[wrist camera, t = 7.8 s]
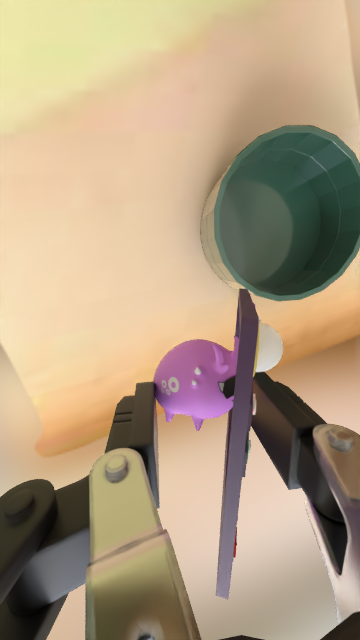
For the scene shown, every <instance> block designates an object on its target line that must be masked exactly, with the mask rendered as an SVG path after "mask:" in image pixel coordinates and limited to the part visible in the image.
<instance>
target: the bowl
mask: <svg viewBox="0 0 360 640" xmlns="http://www.w3.org/2000/svg"><path fill="white" fill-rule="evenodd" d="M201 242H202V247H203V251H204V254H205V256H206V259H207V261H208V263H209V265H210V266H211V268H212V269H213V271H214V272H215V273H216V274H217V276H218V277H219V278H220V279H221V280H223V281H224V282H225V283H227V284H228V285H230V286H231V287H233V288H235V289H236V290H239V288H241V289H248V292H249V294H253V295H256V296H260V297H264V298H267V299H271V300H275V301H288V300H300V299H303V298H306V297H308V296H310V295H313V294H315V293H318V292H320V291H322V290H324V289H325V288H326V287H328V286H329V285H330V284H331V283H333V282H334V281H335V280H336V279H338V278H339V277H340V276H341V275H342V274H343V273H344V272H345V270H346V269H347V267H348V266H349V265H350V263H351V262H352V261H353V259H354V258H355V257H356V255H357V253H358V251H359V248H360V163H359V161H358V159H357V157H356V155H355V153H354V152H353V151H352V150H351V149H350V148H349V147H348V146H347V145H346V144H345V143H344V142H343V141H342V140H340V139H339V138H338V137H337V136H336V135H334V134H332V133H329V132H327V131H324V130H322V129H320V128H317V127H315V126H311V125H303V126H283V127H281V128H278V129H276V130H273V131H271V132H268V133H266V134H263V135H260V136H259V137H258V138H256V139H255V140H254V141H253V142H252V143H251V144H249V145H248V146H247V147H246V148H245V149H244V150H243V151H241V152H240V153H239V154H238V155H237V156H236V158H235V159H234V160H233V162H232V163H231V164H230V165H229V167H228V168H227V169H226V171H225V172H224V173H223V175H222V176H221V177H220V179H219V180H218V182H217V183H216V185H215V187H214V188H213V189H212V191H211V193H210V195H209V196H208V198H207V200H206V204H205V206H204V210H203V213H202V219H201Z"/></svg>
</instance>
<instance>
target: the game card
mask: <svg viewBox="0 0 360 640" xmlns="http://www.w3.org/2000/svg"><path fill="white" fill-rule="evenodd" d="M260 321H261V320H260V319H259V317H258V315H257V312H256V310H255V305H254V303H253V302H252V299H251V297H250V294H249V292H248V289H241V288H239V298H238V310H237V321H236V333H235V336H234V339H235V344H234V351H229V350H227V349H226V348H224V347H222V346H221V345H219V344H216V343H214V342H211V341H207V340H200V339H197V340H190V341H186V342H183V343H181V344H179V345H178V346H176V347H174V348H173V349H172V350H171V351H169V352H168V353H167V354H166V355H165V356H164V358H163V359H162V360H161V362H160V363H159V365H158V367H157V370H156V372H155V375H154V381H153V382H154V389H155V397H156V399H157V401H158V403H159V404H160V405H161V406H162V407H163V408H164V410H165V414H166V421H167V422H170V421H171V419H172V418H173V416H174V415H175V414H184V415H190V416H191V417H192V419H193V421H194V424H195V427H196V430H197V431H199V429H200V428H201V425H202V423H203V420H204V419H207V418H215V417H219V416H221V415H223V414H225V413H227V412H228V411H229V413H228V425H227V436H226V450H225V465H224V480H223V496H222V511H221V527H220V542H219V557H218V572H217V589H216V596H219V597H223V598H225V599H228V597H229V588H230V578H231V569H232V562H233V557H235V555H236V545H237V542H236V536H237V527H236V525H237V520H238V519H237V518H238V507H239V498H240V489H241V480H242V477H245V470H246V464H247V459H248V454H250V448H251V441H250V440H249V431H250V427H251V421H252V414H253V415H255V413H256V399H255V394H254V393H253V377H254V375H255V372H264V371H267V370H269V369H271V368H273V367H274V366H275V365H276V364H277V363H278V362H279V361H280V359H281V357H282V354H283V342H282V339H281V337H280V335H279V334H278V332H277V331H276V330H275V329H274V328H272V327H271V326H269V325H267V324H264V323H261V322H260Z"/></svg>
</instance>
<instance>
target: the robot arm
mask: <svg viewBox="0 0 360 640" xmlns="http://www.w3.org/2000/svg"><path fill="white" fill-rule="evenodd" d="M253 393H254V394H255V399H256V413H255V415H253V414H252V421H251V426H252V428H253V430H254V432H255V433H256V435H257V437H258V438H259V440H260V442H261V443H262V445H263V447H264V448H265V450H266V452H267V454H268V455H269V457H270V459H271V460H272V462H273V464H274V465H275V467H276V469H277V470H278V472H279V474H280V476H281V477H282V479H283V481H284V482H285V484H286V486H287V488H288V489H289V490H291V489H298V488H302V489H303V491H304V492H305V494H306V498H305V507H306V511H307V514H308V517H309V520H310V522H311V525H312V528H313V531H314V534H315V537H316V540H317V542H318V545H319V548H320V551H321V554H322V557H323V559H324V562H325V565H326V568H327V571H328V574H329V577H330V580H331V583H332V586H333V590H334V595H335V603H336V611H337V618H338V622H339V625H338V626H336V627H335V628H334V629H333V630H332V631H330V632H329V633H328V634H327V635H325V636H324V637H323V638H322V639H320V640H360V435H359V434H357V433H356V432H354V431H352V430H350V429H348V428H345V427H343V426H339V425H334V424H327V423H326V422H325V421H324V420H323V419H322V418H321V417H320V416H319V415H318V414H317V413H316V412H315V411H313V410H312V409H311V408H310V407H309V406H308V405H307V404H306V403H304V402H303V400H302V399H301V398H300V397H298V396H297V395H296V394H295V393H294V392H293V391H292V390H291V389H290V388H289V387H287V386H285V385H283V384H281V383H279V382H274V381H273V380H272V379H271V378H270V377H269V376H268V375H267V374H266V373H265V372H255V375H254V377H253ZM157 508H159V471H158V428H157V411H156V399H155V389H154V382H144V383H137V384H136V391H135V396H125V397H123V399H122V400H121V401H120V402H119V403H118V404H117V407H116V411H115V415H114V419H113V423H112V427H111V430H110V434H109V438H108V442H107V446H106V450H105V454H104V455H102V456H101V457H100V458H99V459H98V460H97V461H96V462H95V463H94V465H93V466H92V468H91V471H90V474H89V475H88V476H86V477H85V478H83V479H81V480H79V481H77V482H75V483H73V484H70V485H68V486H65V487H63V488H60V489H58V490H54V487H53V485H52V484H51V483H50V482H49V481H47V480H43V479H35V480H30V481H27V482H24V483H21V484H19V485H17V486H16V487H14V488H12V489H10V490H9V491H7V492H6V493H5V494H4V495H3V496H1V497H0V640H46V639H47V637H48V635H49V633H50V631H51V629H52V626H53V624H54V622H55V620H56V618H57V616H58V614H59V612H60V610H61V608H62V606H63V604H64V602H65V600H66V598H67V596H68V593H69V592H71V591H73V590H74V589H76V588H78V587H79V586H81V585H83V584H84V583H86V625H85V626H86V627H85V628H86V630H85V639H86V640H201V637H200V634H199V631H198V627H197V624H196V621H195V618H194V614H193V611H192V608H191V604H190V601H189V598H188V594H187V591H186V588H185V585H184V581H183V578H182V575H181V572H180V568H179V566H178V562H177V559H176V555H175V552H174V549H173V546H172V543H171V539H170V537H169V534H168V532H167V530H166V529H165V530H163V528H162V525H161V522H160V518H159V515H158V511H157ZM220 640H263V639H258V638H253V637H248V636H243V635H240V636H235V637H230V638H225V639H220Z"/></svg>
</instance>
